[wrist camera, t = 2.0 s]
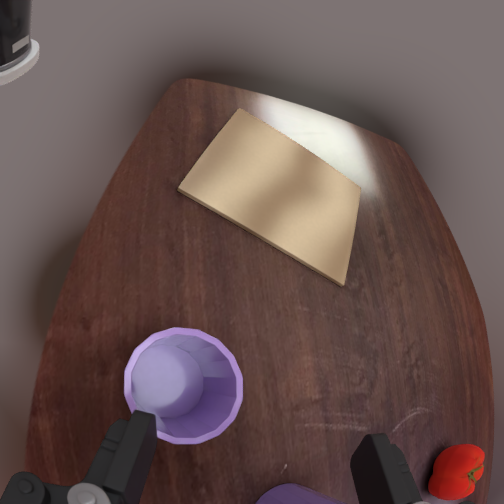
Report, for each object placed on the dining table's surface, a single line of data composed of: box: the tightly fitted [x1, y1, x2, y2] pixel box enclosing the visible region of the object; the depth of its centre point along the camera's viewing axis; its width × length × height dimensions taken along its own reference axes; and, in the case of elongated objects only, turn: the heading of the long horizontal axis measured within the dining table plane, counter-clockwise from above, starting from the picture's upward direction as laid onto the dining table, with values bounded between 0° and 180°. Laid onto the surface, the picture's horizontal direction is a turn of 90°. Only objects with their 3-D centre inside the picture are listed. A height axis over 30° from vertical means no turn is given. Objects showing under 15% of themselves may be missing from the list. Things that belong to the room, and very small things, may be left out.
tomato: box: [428, 444, 485, 500], centre depth 24 cm, size 9×9×8 cm
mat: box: [177, 108, 361, 287], centre depth 34 cm, size 20×16×1 cm
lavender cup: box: [124, 327, 243, 444], centre depth 18 cm, size 7×7×8 cm
